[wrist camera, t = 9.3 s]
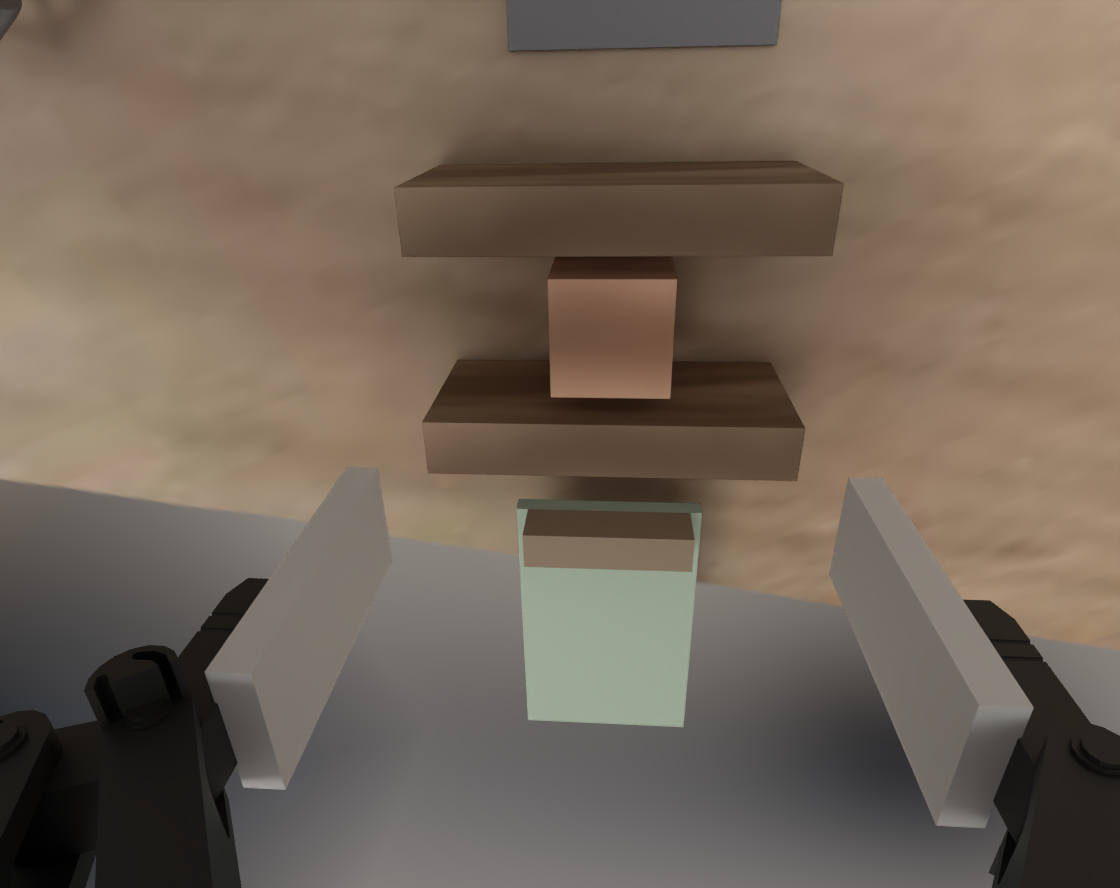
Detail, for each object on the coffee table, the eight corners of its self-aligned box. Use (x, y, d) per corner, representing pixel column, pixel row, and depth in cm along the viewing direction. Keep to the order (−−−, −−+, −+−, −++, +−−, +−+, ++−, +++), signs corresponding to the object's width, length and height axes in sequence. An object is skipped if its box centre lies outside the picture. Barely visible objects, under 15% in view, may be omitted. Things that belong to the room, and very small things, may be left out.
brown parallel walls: (439, 164, 32) (394, 187, 26) (796, 160, 31) (843, 183, 25) (461, 403, 38) (428, 473, 31) (764, 408, 37) (796, 481, 30)
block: (560, 241, 34) (547, 279, 28) (666, 241, 33) (677, 279, 27) (562, 341, 36) (550, 397, 30) (661, 342, 36) (670, 398, 29)
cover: (518, 499, 32) (510, 535, 29) (700, 503, 31) (707, 540, 28) (529, 707, 37) (523, 752, 35) (682, 714, 37) (686, 760, 34)
